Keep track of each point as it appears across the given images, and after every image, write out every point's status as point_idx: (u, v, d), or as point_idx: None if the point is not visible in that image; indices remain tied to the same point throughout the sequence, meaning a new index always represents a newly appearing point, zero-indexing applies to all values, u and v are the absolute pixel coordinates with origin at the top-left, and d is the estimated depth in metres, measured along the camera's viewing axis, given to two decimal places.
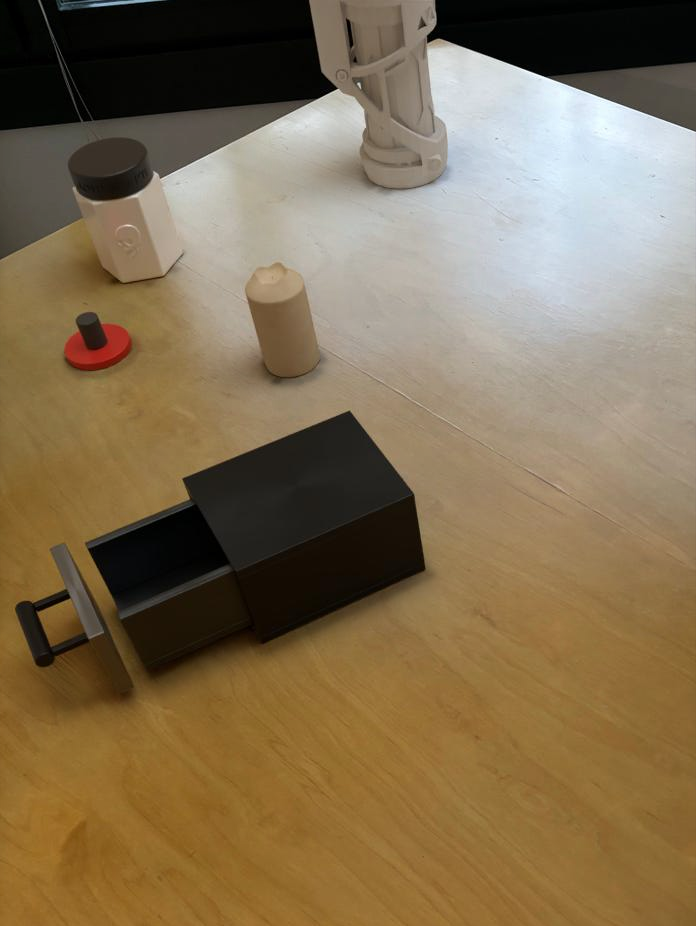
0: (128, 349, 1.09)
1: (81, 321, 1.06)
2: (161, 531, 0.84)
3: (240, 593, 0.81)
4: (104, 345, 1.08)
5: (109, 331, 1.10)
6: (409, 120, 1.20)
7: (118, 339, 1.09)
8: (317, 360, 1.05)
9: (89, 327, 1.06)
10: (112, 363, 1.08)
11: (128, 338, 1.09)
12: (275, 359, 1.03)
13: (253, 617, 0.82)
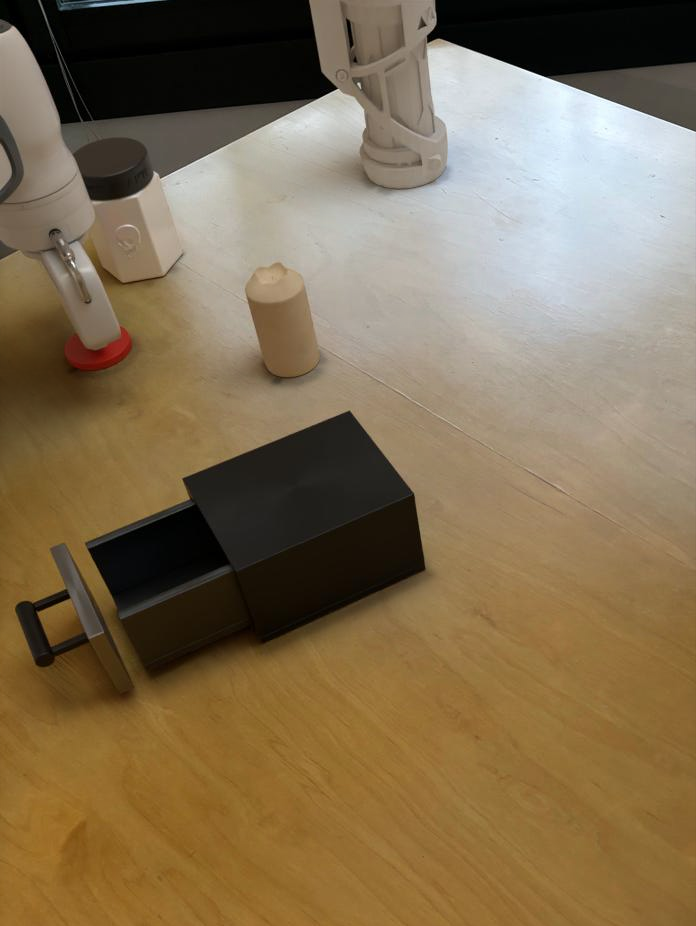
0: (128, 349, 1.09)
1: None
2: (161, 531, 0.84)
3: (240, 593, 0.81)
4: None
5: None
6: (409, 120, 1.20)
7: (118, 340, 1.09)
8: (317, 360, 1.05)
9: None
10: (112, 363, 1.08)
11: (128, 338, 1.09)
12: (275, 359, 1.03)
13: (253, 617, 0.82)
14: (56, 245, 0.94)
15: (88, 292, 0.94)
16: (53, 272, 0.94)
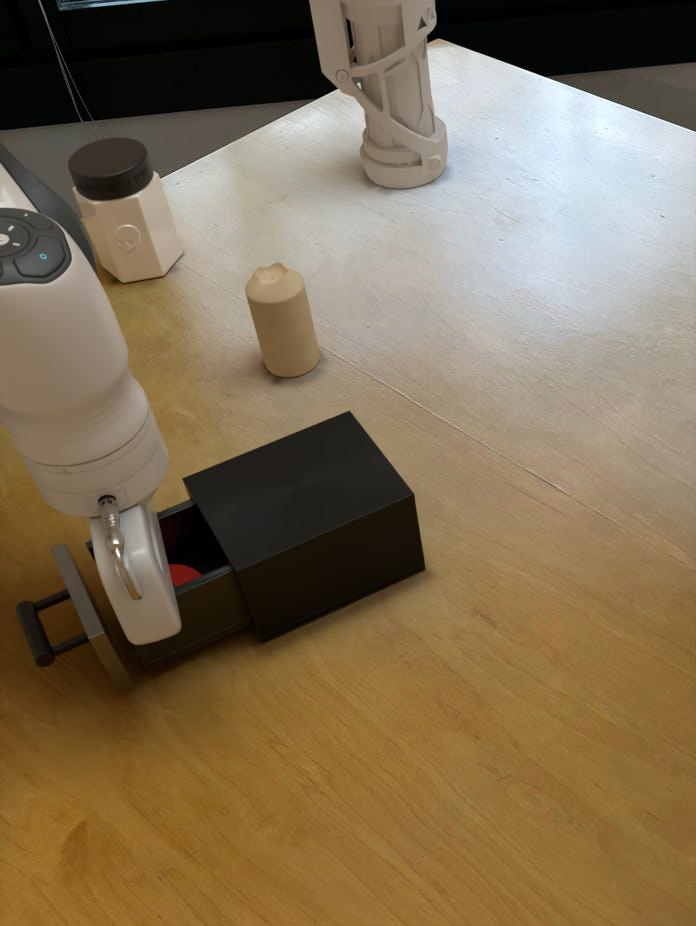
0: None
1: None
2: (162, 531, 0.84)
3: (240, 593, 0.81)
4: None
5: (183, 578, 0.84)
6: (409, 120, 1.20)
7: None
8: (317, 360, 1.05)
9: None
10: None
11: None
12: (275, 359, 1.03)
13: (253, 617, 0.82)
14: (103, 522, 0.68)
15: (137, 591, 0.68)
16: (95, 557, 0.69)
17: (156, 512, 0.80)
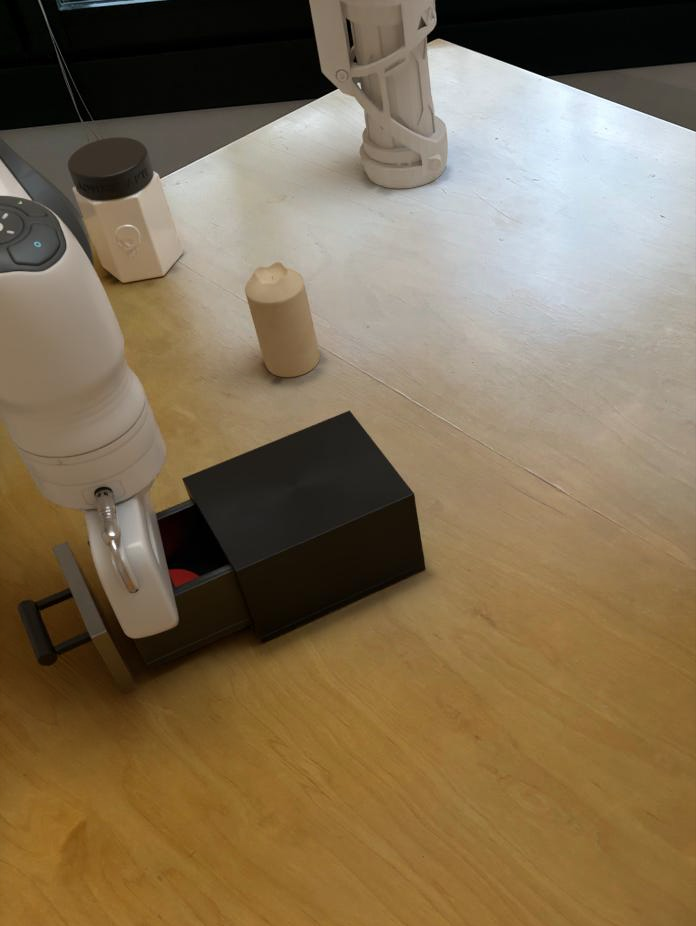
0: None
1: None
2: (164, 530, 0.84)
3: None
4: None
5: None
6: (409, 120, 1.20)
7: None
8: (317, 360, 1.05)
9: None
10: None
11: None
12: (275, 359, 1.03)
13: (253, 617, 0.82)
14: (99, 514, 0.68)
15: (133, 584, 0.68)
16: (91, 549, 0.68)
17: (153, 505, 0.79)
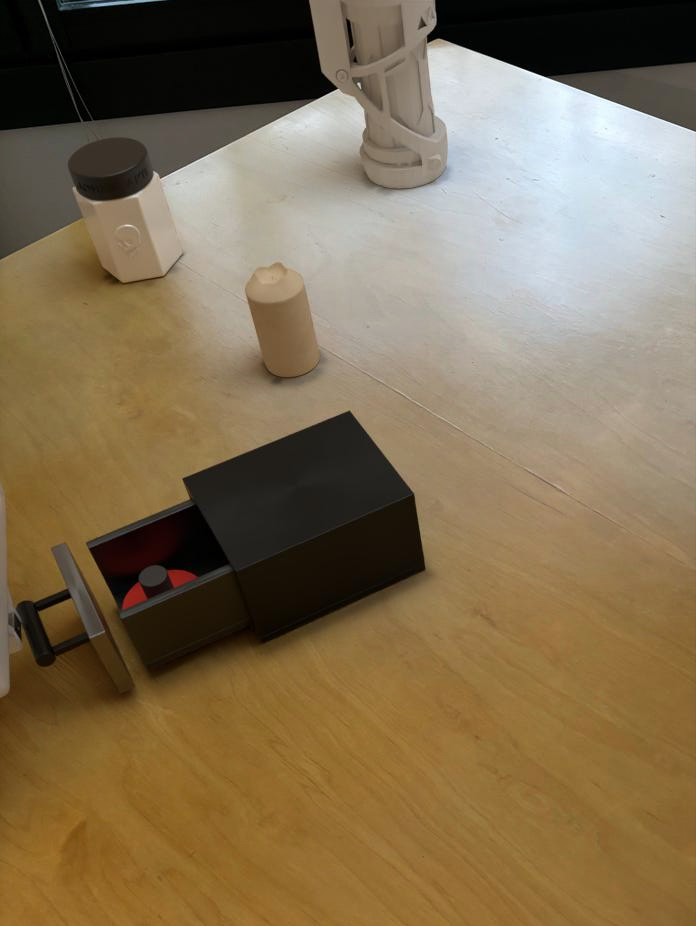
0: None
1: (145, 580, 0.81)
2: (162, 531, 0.84)
3: (241, 593, 0.81)
4: None
5: (183, 583, 0.85)
6: (409, 120, 1.20)
7: None
8: (317, 360, 1.05)
9: (153, 589, 0.81)
10: None
11: None
12: (275, 359, 1.03)
13: (253, 617, 0.82)
14: None
15: None
16: None
17: (5, 561, 0.76)
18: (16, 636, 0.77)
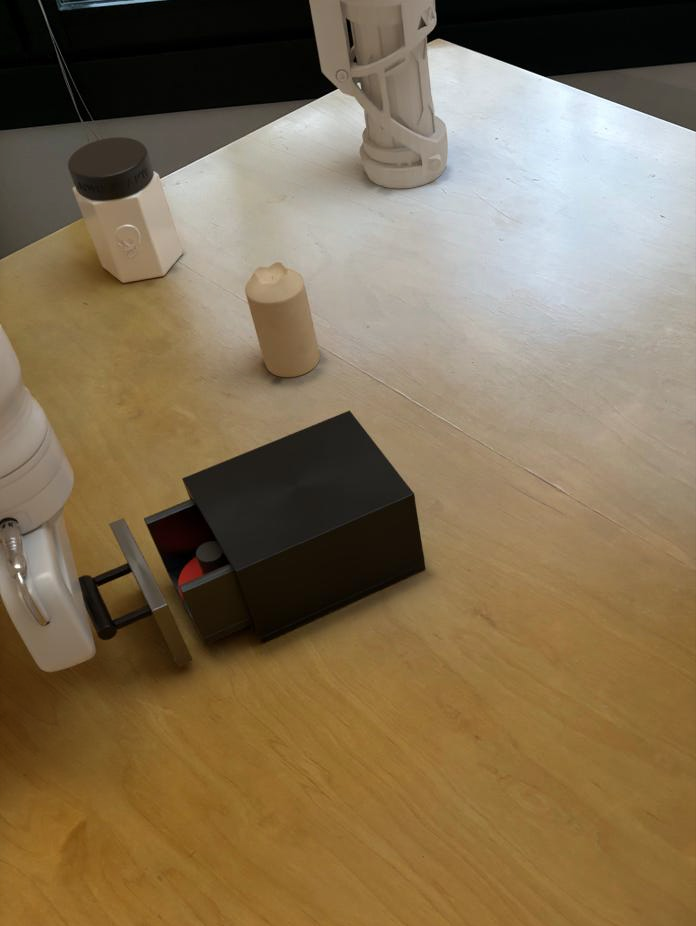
0: None
1: (202, 556, 0.83)
2: None
3: None
4: None
5: None
6: (409, 120, 1.20)
7: None
8: (317, 360, 1.05)
9: (211, 564, 0.82)
10: None
11: None
12: (275, 359, 1.03)
13: (253, 617, 0.82)
14: (4, 547, 0.65)
15: (43, 616, 0.66)
16: None
17: None
18: None
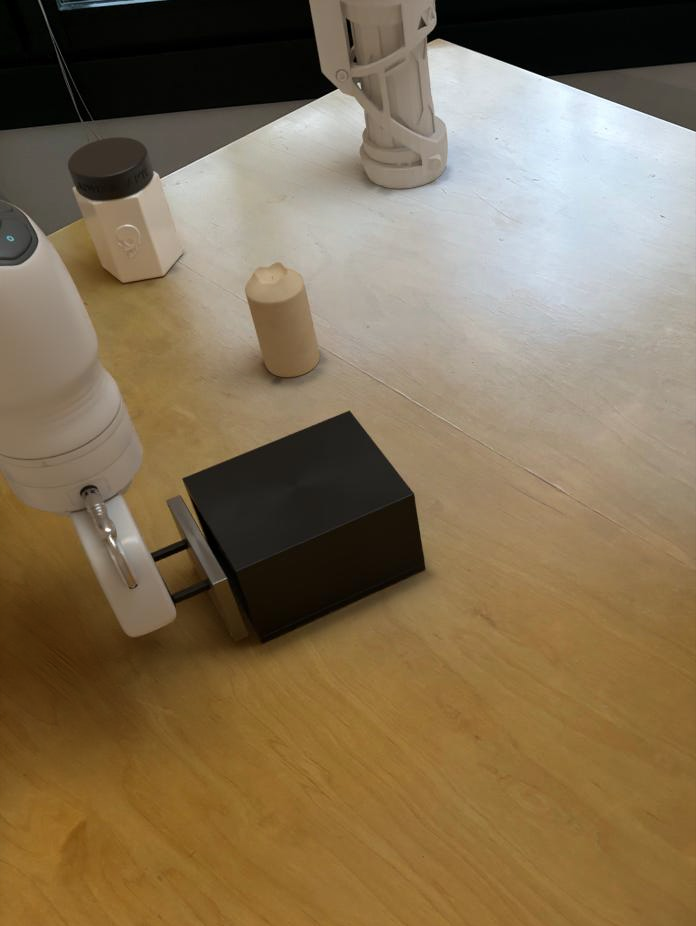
0: None
1: None
2: None
3: None
4: None
5: None
6: (409, 120, 1.20)
7: None
8: (317, 360, 1.05)
9: None
10: None
11: None
12: (275, 359, 1.03)
13: (253, 617, 0.82)
14: (90, 513, 0.67)
15: (134, 578, 0.67)
16: (85, 549, 0.67)
17: None
18: None
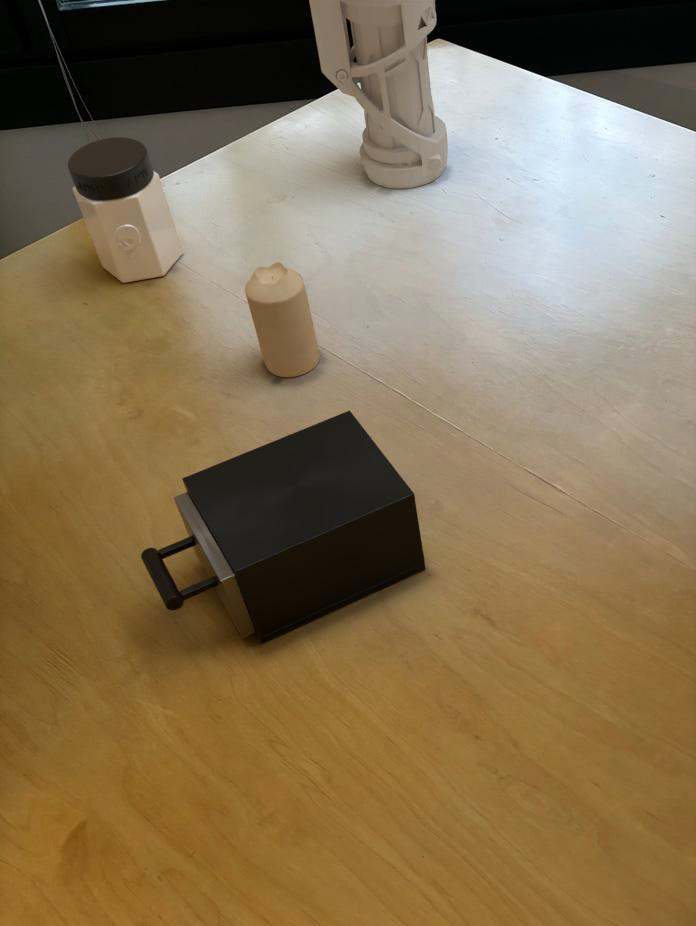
0: None
1: None
2: None
3: None
4: None
5: None
6: (409, 120, 1.20)
7: None
8: (317, 360, 1.05)
9: None
10: None
11: None
12: (275, 359, 1.03)
13: (253, 617, 0.82)
14: None
15: None
16: None
17: None
18: None
